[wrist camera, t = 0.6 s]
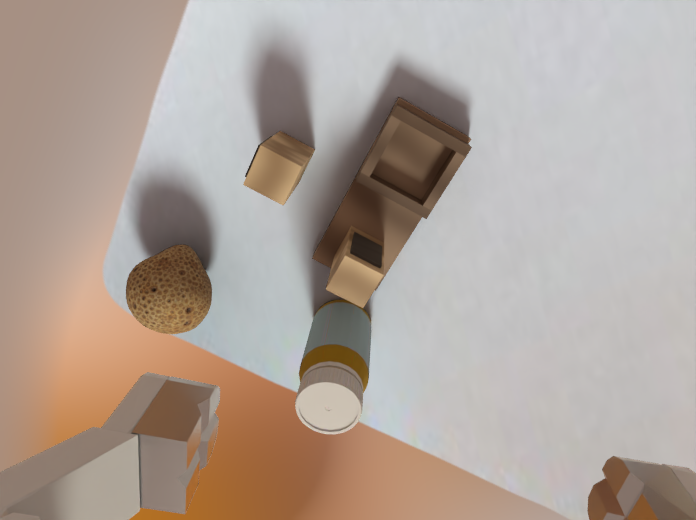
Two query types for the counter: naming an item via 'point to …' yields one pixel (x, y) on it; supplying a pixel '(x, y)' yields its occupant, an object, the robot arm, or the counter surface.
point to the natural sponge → (169, 291)
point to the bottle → (335, 368)
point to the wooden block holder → (389, 199)
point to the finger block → (278, 166)
